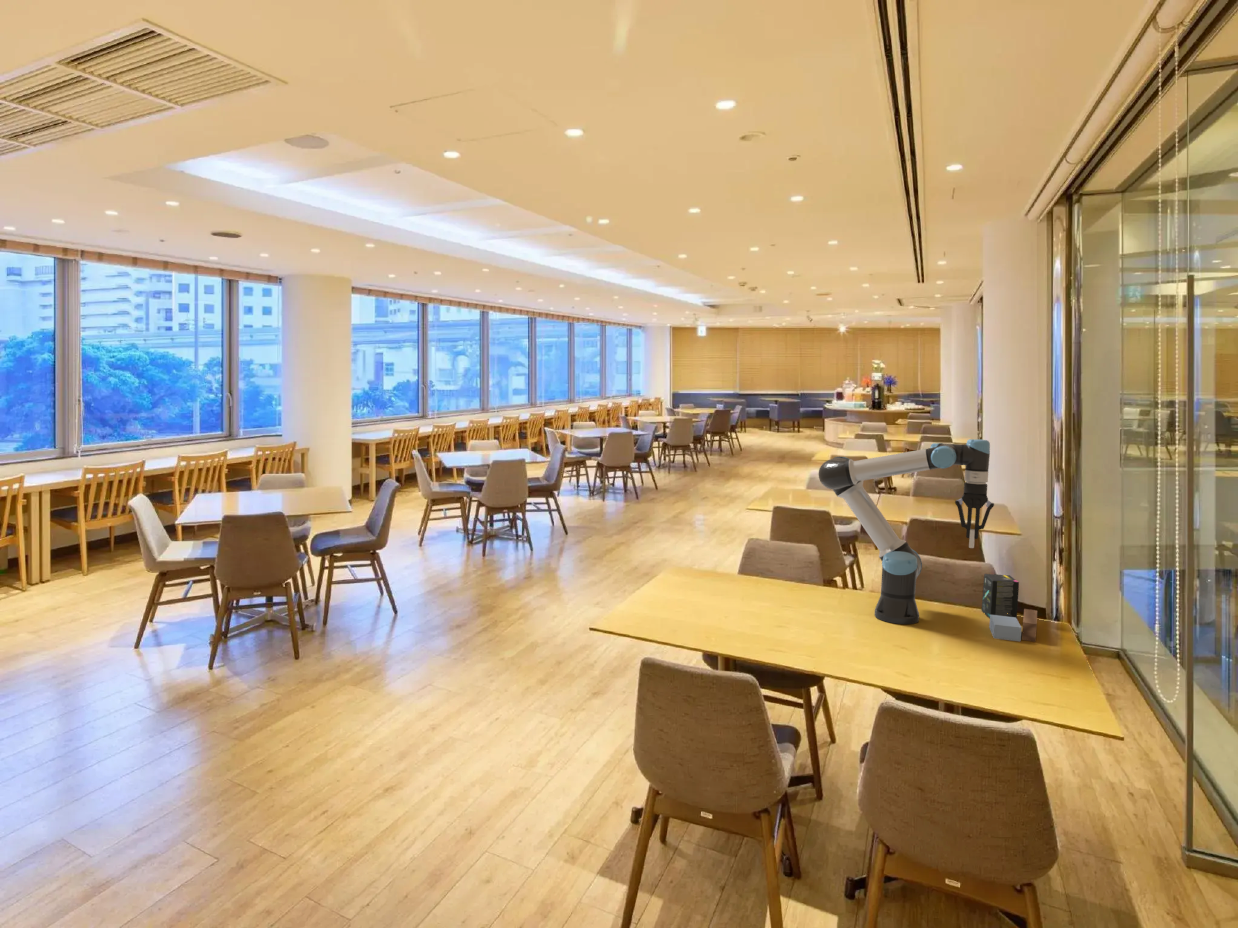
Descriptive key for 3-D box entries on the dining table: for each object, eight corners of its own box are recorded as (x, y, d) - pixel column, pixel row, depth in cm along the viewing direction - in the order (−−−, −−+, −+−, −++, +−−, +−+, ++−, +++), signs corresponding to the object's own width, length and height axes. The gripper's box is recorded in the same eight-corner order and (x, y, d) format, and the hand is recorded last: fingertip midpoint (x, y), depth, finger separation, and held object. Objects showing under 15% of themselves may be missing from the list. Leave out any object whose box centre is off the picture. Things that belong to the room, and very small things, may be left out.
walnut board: (1021, 639, 244) (1023, 622, 244) (1022, 625, 260) (1024, 608, 259) (1035, 641, 242) (1036, 624, 242) (1035, 627, 258) (1037, 610, 257)
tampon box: (1017, 621, 264) (1020, 581, 262) (989, 619, 266) (992, 580, 264) (1007, 612, 275) (1010, 574, 273) (981, 610, 276) (983, 572, 275)
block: (993, 638, 245) (994, 624, 245) (989, 628, 256) (990, 614, 256) (1020, 642, 242) (1021, 627, 242) (1014, 631, 254) (1015, 617, 253)
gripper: (954, 482, 261) (950, 546, 264) (995, 485, 255) (990, 551, 257) (957, 480, 268) (952, 543, 270) (996, 482, 261) (992, 547, 264)
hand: (971, 547), depth 264 cm, fingers closed
